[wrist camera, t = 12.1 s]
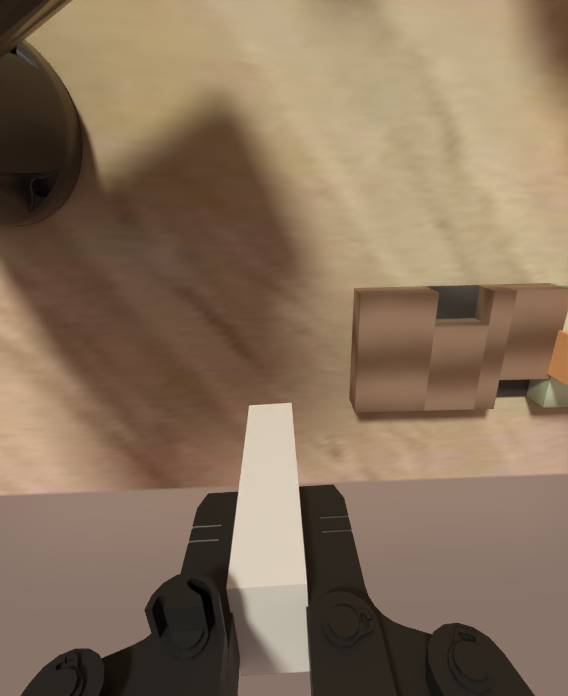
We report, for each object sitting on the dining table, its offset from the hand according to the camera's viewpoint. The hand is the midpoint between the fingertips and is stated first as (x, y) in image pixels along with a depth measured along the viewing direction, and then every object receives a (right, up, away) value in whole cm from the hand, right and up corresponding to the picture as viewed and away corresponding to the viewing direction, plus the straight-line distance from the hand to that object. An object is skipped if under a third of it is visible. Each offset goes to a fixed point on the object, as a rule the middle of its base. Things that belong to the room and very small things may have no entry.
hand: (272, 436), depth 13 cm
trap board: (+20, +4, +24) cm, 32 cm away
